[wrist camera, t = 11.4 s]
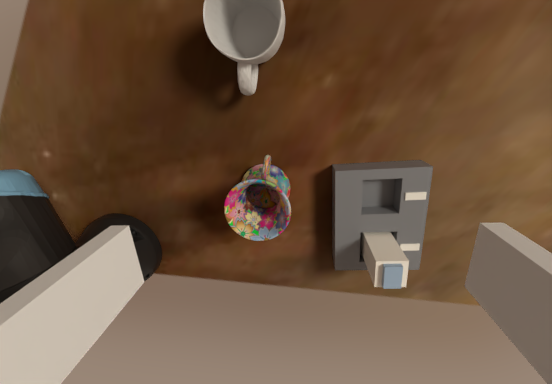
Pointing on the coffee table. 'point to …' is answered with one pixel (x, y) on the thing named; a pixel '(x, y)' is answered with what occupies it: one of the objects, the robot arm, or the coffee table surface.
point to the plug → (384, 259)
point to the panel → (379, 208)
